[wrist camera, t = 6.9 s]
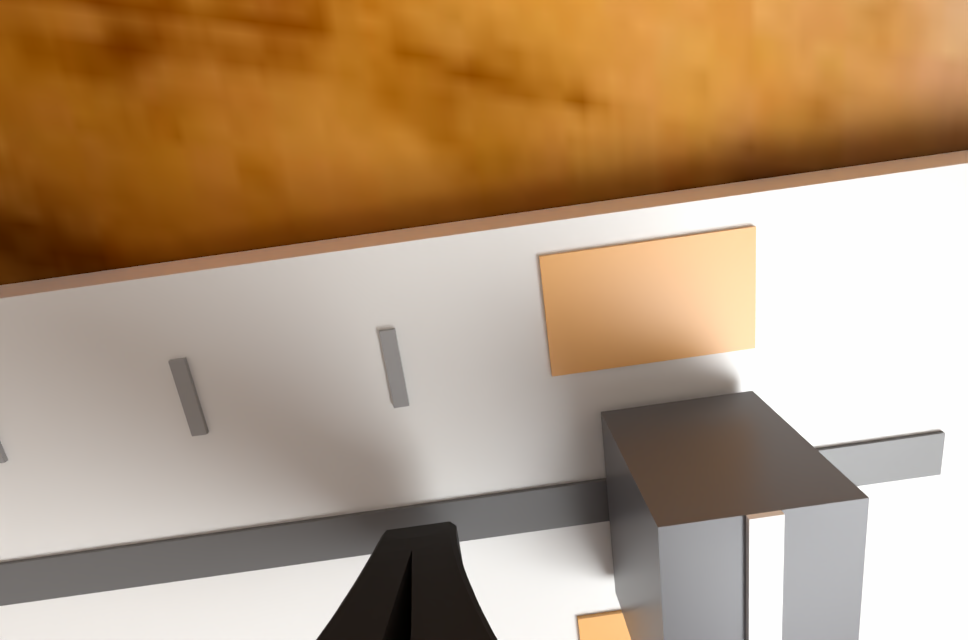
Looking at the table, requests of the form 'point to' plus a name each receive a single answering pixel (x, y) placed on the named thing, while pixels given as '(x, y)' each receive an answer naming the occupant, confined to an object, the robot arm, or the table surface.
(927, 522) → the panel
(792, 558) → the fader
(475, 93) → the table surface
